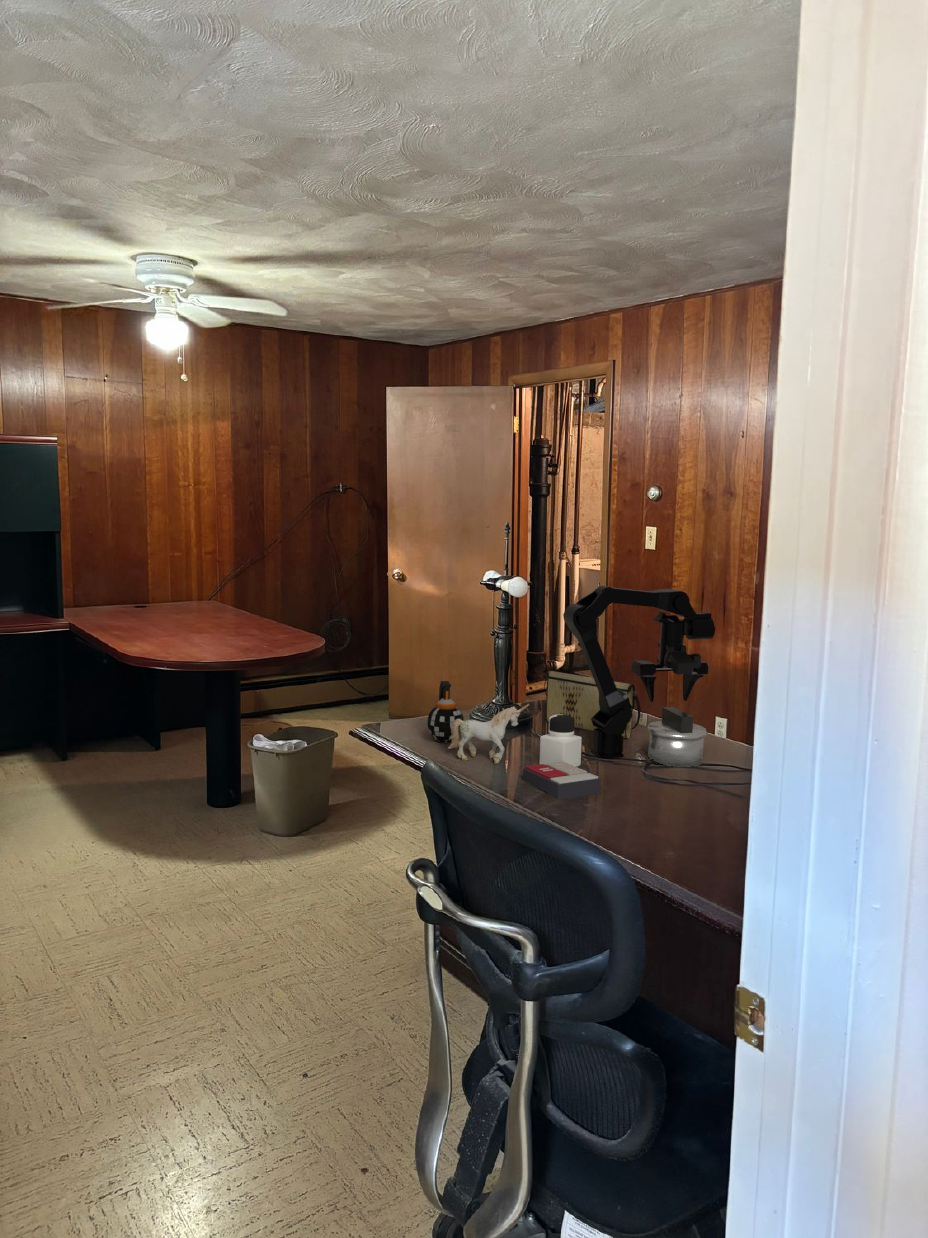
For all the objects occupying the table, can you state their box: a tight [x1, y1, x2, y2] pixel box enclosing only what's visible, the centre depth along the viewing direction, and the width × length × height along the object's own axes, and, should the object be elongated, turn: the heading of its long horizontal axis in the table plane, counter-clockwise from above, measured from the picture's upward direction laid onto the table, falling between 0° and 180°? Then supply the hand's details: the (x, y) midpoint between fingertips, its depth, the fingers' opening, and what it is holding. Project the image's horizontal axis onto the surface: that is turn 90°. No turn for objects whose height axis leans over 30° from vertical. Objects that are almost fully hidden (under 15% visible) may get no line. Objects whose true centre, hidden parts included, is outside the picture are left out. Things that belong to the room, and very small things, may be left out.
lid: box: [646, 706, 707, 740], centre depth 217 cm, size 14×14×5 cm
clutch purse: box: [543, 670, 641, 740], centre depth 245 cm, size 30×7×15 cm, turn 51°
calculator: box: [522, 762, 602, 801], centre depth 195 cm, size 11×4×15 cm
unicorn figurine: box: [447, 703, 530, 765], centre depth 213 cm, size 7×20×13 cm, turn 90°
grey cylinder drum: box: [647, 732, 705, 768], centre depth 218 cm, size 13×13×7 cm
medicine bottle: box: [538, 714, 583, 767], centre depth 210 cm, size 7×7×12 cm
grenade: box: [426, 680, 465, 745], centre depth 230 cm, size 11×10×15 cm
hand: (668, 701), depth 224 cm, fingers open, 9 cm apart
